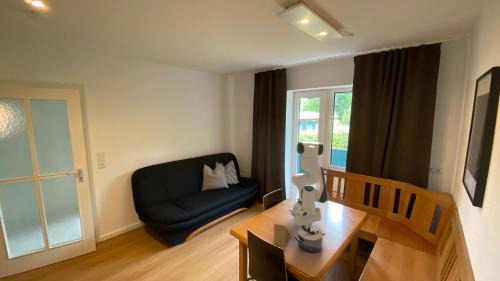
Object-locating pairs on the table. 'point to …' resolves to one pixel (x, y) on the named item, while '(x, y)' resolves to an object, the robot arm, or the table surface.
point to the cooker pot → (309, 245)
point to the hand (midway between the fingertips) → (308, 228)
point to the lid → (310, 233)
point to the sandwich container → (281, 235)
